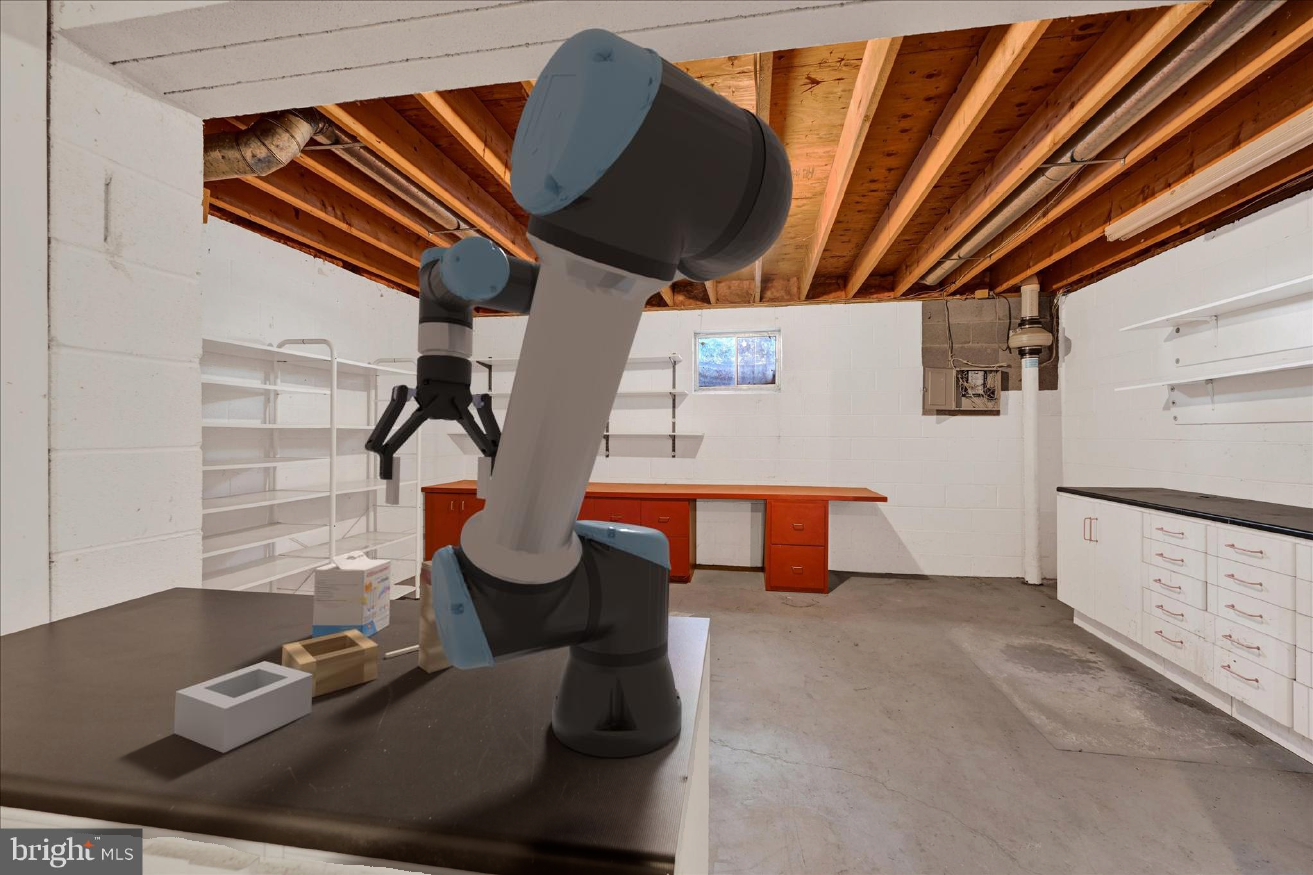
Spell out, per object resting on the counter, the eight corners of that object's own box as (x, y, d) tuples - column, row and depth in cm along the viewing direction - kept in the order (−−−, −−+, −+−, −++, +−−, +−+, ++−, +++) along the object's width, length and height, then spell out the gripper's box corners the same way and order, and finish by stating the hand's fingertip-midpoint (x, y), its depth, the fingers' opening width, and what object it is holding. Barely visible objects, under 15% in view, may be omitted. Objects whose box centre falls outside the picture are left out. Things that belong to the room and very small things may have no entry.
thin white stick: (451, 640, 85) (451, 637, 85) (386, 658, 77) (387, 654, 77) (449, 639, 85) (449, 636, 85) (385, 656, 78) (385, 653, 78)
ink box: (361, 642, 83) (364, 559, 83) (310, 641, 83) (313, 558, 84) (390, 624, 92) (392, 549, 92) (343, 623, 92) (346, 548, 92)
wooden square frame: (377, 678, 70) (378, 645, 71) (299, 701, 64) (300, 664, 64) (354, 659, 76) (355, 628, 77) (281, 678, 70) (282, 645, 70)
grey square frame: (311, 712, 61) (312, 674, 61) (223, 753, 53) (225, 708, 53) (263, 697, 65) (264, 661, 65) (174, 733, 56) (175, 691, 56)
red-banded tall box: (454, 665, 75) (457, 562, 75) (429, 673, 72) (432, 566, 73) (442, 658, 78) (445, 558, 78) (417, 665, 75) (421, 562, 75)
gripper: (506, 370, 88) (502, 494, 87) (342, 346, 69) (336, 504, 69) (531, 366, 83) (527, 498, 82) (361, 339, 64) (355, 509, 64)
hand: (440, 501), depth 76 cm, fingers open, 13 cm apart
